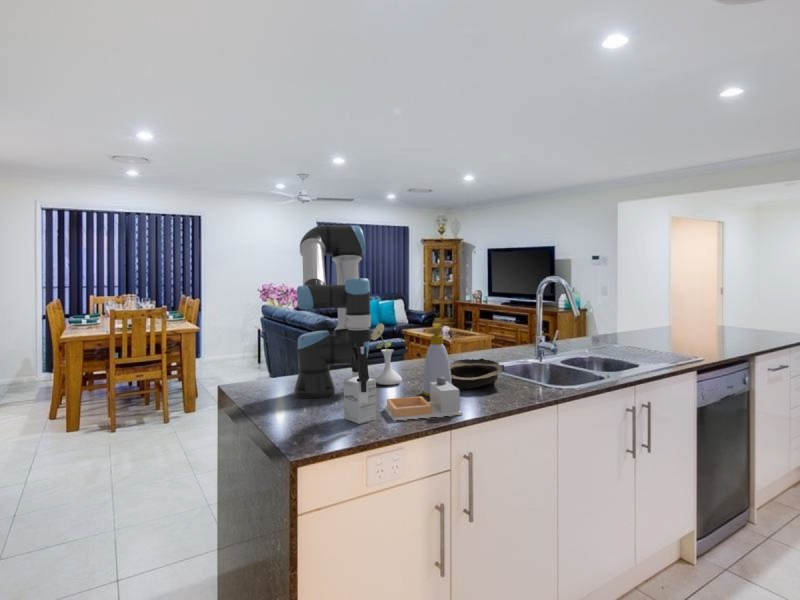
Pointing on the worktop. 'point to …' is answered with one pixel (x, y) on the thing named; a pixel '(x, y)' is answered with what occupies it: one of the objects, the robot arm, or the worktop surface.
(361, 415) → the supplement box
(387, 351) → the flower in vase
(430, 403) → the tan white boxy piece
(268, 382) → the worktop surface
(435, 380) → the soap bottle
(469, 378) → the stone bowl
